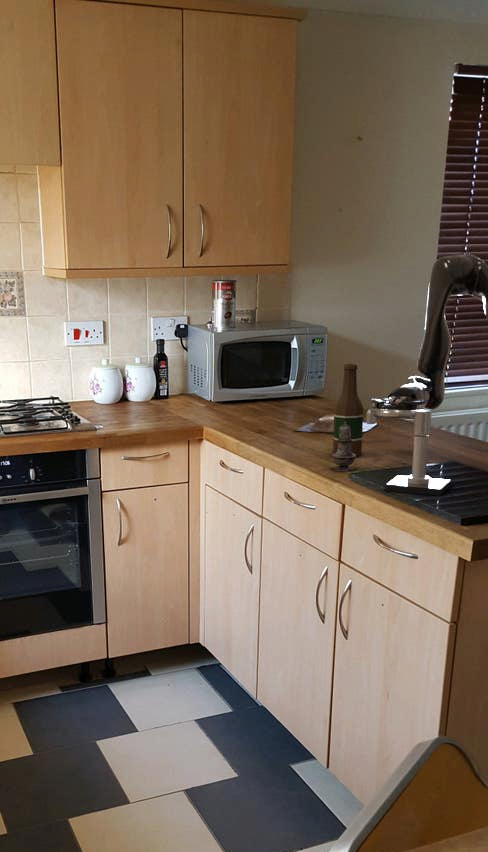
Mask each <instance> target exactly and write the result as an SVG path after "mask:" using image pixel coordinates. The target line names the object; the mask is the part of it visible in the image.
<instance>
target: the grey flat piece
mask: <svg viewBox="0 0 488 852" xmlns="http://www.w3.org/2000/svg"><path fill="white" fill-rule="evenodd" d="M315 422H316V425H317V426H319V427H324V428H319V427H316V426H315V423H313V422H309V423H307V424H304V425H302V426H301V427H298V428H297V429H296V431H298V432H308V433H325V434H326V433H328V434H329V433H330V434H334V429H332V428H334V413H330V414H326V415H324V416H322V417H321V418H318V419H317V420H316V421H315ZM377 424H378V423H377V422H376V424H366V421H365V422H364V421H363V432H362V433H364V432H367V431H369V430H371V429H372V428H374V427H376V426H377ZM310 429H312V430H314V431H311V430H310Z"/></svg>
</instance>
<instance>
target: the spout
mask: <svg viewBox="0 0 488 852" xmlns="http://www.w3.org/2000/svg"><path fill="white" fill-rule="evenodd" d="M432 412H433V411H432V409H425V408H423V409H421V410H415V411H411V410H388V409H372V408H369V409H368V410H367V412H365V413H366V414H365V423H366V424H376V423H377V418H384V419H385V418H387V419H405V420H413V429H412V435H413V436H414V435H419V436H425V435H428V436H430V435H431V426H432V425H431V424H432ZM376 425H377V424H376Z"/></svg>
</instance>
